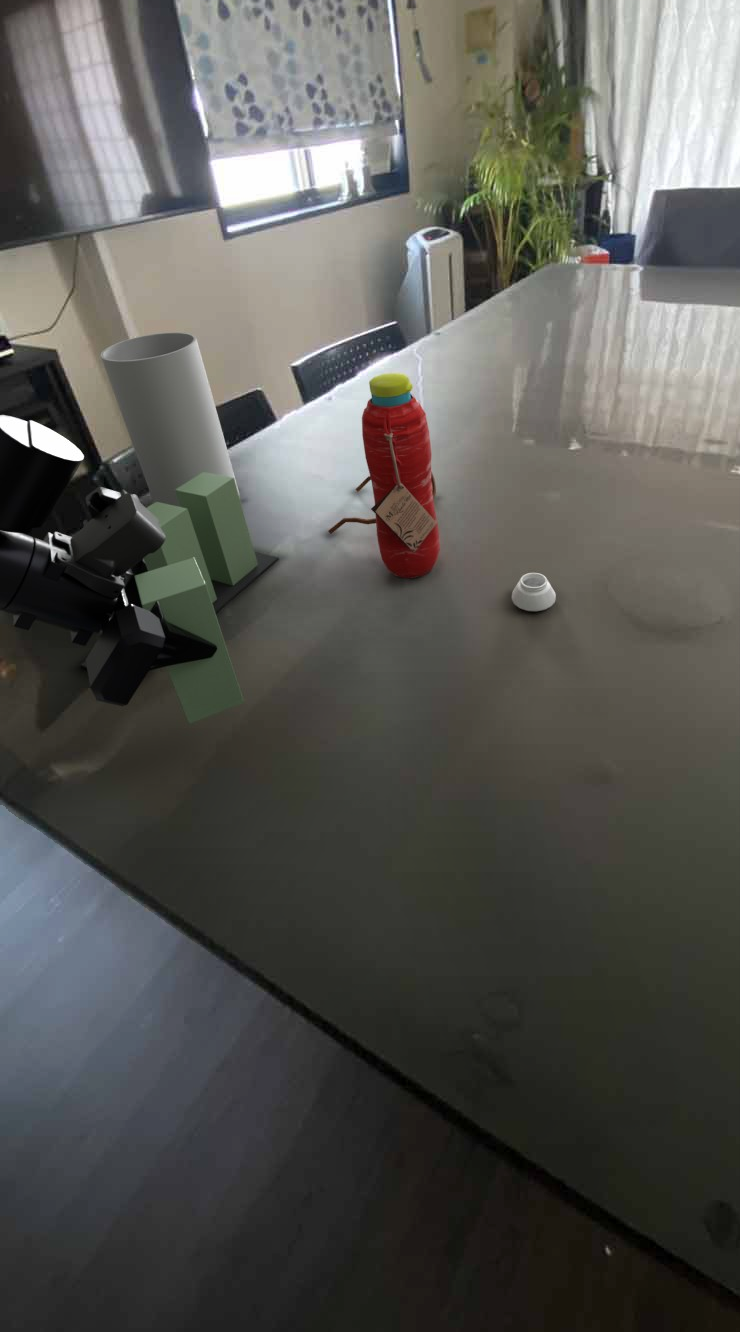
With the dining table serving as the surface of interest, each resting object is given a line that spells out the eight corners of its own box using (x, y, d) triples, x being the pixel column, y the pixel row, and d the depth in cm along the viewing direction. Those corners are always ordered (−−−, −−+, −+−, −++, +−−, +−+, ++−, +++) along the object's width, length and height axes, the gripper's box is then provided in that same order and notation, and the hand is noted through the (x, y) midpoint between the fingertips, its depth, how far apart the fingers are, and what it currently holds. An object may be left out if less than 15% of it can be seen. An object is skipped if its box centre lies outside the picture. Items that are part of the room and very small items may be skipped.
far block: (233, 585, 87) (205, 496, 80) (204, 577, 89) (174, 489, 82) (258, 565, 91) (233, 477, 83) (229, 557, 93) (203, 471, 85)
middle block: (188, 622, 81) (154, 530, 74) (158, 613, 84) (122, 522, 76) (217, 599, 85) (187, 508, 78) (187, 590, 87) (156, 501, 80)
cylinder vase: (252, 487, 110) (211, 330, 96) (222, 528, 100) (170, 359, 86) (181, 488, 112) (130, 334, 98) (144, 528, 102) (81, 363, 88)
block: (188, 724, 60) (141, 604, 53) (179, 691, 64) (134, 575, 57) (244, 702, 62) (205, 584, 55) (231, 671, 65) (194, 556, 58)
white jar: (524, 583, 83) (504, 606, 79) (524, 563, 81) (503, 585, 78) (562, 595, 80) (543, 618, 77) (563, 574, 78) (543, 598, 75)
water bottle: (440, 601, 81) (421, 399, 67) (374, 603, 82) (341, 404, 68) (445, 546, 91) (429, 360, 77) (386, 548, 92) (359, 364, 78)
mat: (130, 685, 74) (130, 683, 73) (81, 666, 77) (80, 664, 77) (279, 559, 92) (278, 557, 92) (233, 548, 95) (233, 546, 95)
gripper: (82, 538, 41) (290, 616, 51) (61, 438, 55) (228, 515, 65) (-4, 683, 43) (214, 731, 53) (-3, 550, 57) (170, 608, 67)
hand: (207, 635), depth 60 cm, fingers closed on block, 5 cm apart
